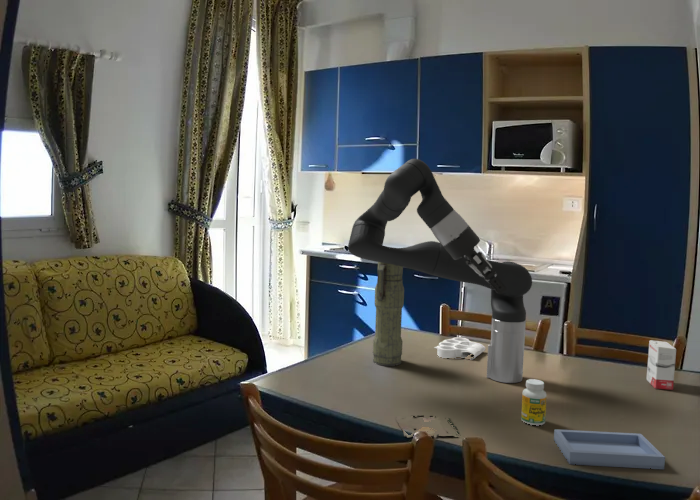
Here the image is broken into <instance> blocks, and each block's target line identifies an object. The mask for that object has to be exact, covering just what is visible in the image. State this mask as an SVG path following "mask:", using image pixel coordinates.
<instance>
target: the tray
mask: <svg viewBox="0 0 700 500" xmlns="http://www.w3.org/2000/svg"><path fill="white" fill-rule="evenodd" d="M554 441H555V442H554ZM553 442H554V444H555V445H556V444H557V445H556V446H557V448H558V447H559V448H558V450H559V451H560V450H561V451H560V453H561V454H562V453H563V454H562V456H563V457H564V459H565V460H566V459H567V460H566V461H567V463H568V465H575V464H576V465H575V466H577V465H578V466H592V467H593V466H595V467H597V466H598V467H613V468H614V467H615V468H633V469H649V470H650V468H651V469H653V470H665V461H666V456H664V455H663V454H662V452H660V450H658V449H657V448H656V447H655V445H653V444H652V443H651V442H650V441H649V440H648V439H647V438H646V437H645V436H644V435H643V434H642V433H635V432H633V433H632V432H616V431H615V432H614V431H613V432H611V431H594V430H593V431H592V430H579V429H577V430H576V429H573V430H572V429H554V431H553Z"/></svg>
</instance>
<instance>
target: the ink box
mask: <svg viewBox="0 0 700 500" xmlns="http://www.w3.org/2000/svg"><path fill="white" fill-rule="evenodd" d="M648 342H649V343H648V355H647V356H648V357H647V367H646V368H647V370H646V381H647V382H648V383H649V384H650V385H651V386H652V387H653V388H654V389H655V390H656V389H657V390H670V391H673V390H674V383H675V382H674V381H675V371H676V370H675V368H676V360H677V359H676V357H677V349H676V347H674V346H673V345H671V344H670V343H669V342H667V341H661V340H654V339H651V340H649V341H648Z"/></svg>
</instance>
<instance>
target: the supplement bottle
mask: <svg viewBox="0 0 700 500" xmlns="http://www.w3.org/2000/svg"><path fill="white" fill-rule="evenodd" d="M525 387H526V388H524V389H522V394H521V395H522V397H521V414H520V416H521V417H520V419H521V421H523V423H524V422H525V423H527V424H526V425H528V424H530V425H529V426H532V425H536V426H535V427H539V425H541V426H543V425H545V423H546V413H547V412H546V411H547V396H548V395H547V392H546V390H544V388H545V383H544V381H542V380H540V379H534V378H529V379H527V380H525ZM525 423H524V424H525Z"/></svg>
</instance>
